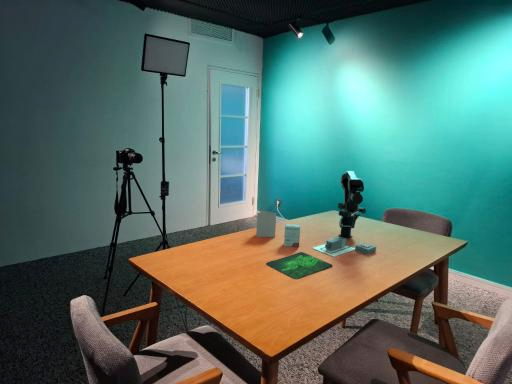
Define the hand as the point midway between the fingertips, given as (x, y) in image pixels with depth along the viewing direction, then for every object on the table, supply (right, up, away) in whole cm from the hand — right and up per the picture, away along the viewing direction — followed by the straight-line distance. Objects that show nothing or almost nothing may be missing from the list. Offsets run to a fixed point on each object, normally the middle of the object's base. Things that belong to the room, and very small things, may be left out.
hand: (351, 226), depth 199 cm
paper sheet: (-11, -12, -7) cm, 18 cm away
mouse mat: (-34, -17, -30) cm, 49 cm away
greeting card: (-50, -7, +10) cm, 52 cm away
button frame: (+6, -13, -8) cm, 16 cm away
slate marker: (-11, -12, -7) cm, 18 cm away
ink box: (-35, -11, -3) cm, 37 cm away
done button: (+6, -13, -8) cm, 16 cm away
